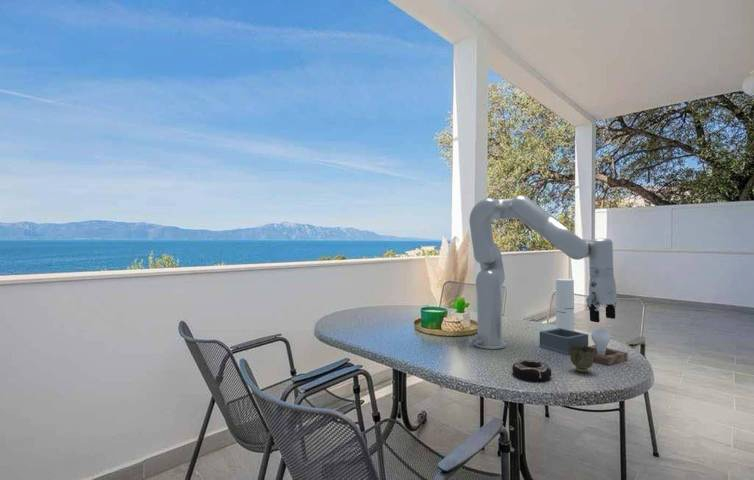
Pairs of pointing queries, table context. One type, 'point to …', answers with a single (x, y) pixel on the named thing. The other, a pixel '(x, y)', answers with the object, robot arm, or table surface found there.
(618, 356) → the socket block
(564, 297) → the cylindrical container
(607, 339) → the lightbulb
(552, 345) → the grey open box
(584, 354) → the cup
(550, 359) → the table surface
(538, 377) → the donut
